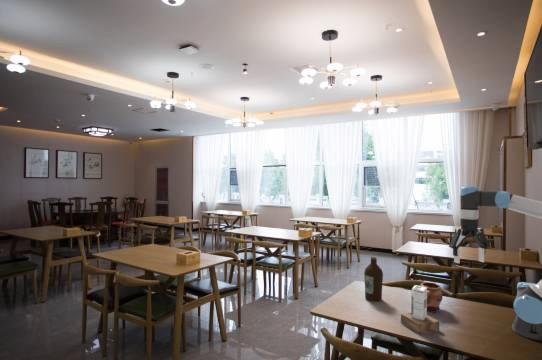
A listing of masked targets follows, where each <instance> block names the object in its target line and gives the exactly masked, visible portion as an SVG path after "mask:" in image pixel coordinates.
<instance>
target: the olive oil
mask: <svg viewBox="0 0 542 360" xmlns="http://www.w3.org/2000/svg"><path fill="white" fill-rule="evenodd" d="M377 261H378V260H377V257H376V256H371V257H370V263H369V264H368V265H367V266H366V267H365V269H364V273H363V275H364V276H363V277H364V298H366V299H365V300H366V301H369V302H372V303H373V302H376V303H378V302H381V301H382V299H383V279H384V272H383V270H382V267H380V265H378V264H377Z"/></svg>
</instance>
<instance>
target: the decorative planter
mask: <svg viewBox="0 0 542 360" xmlns="http://www.w3.org/2000/svg"><path fill="white" fill-rule="evenodd" d="M419 286H422V287H426V288H427V312H433V313H437V312H439V311H440V309H441V307H440V305H441V303H442V301H443V292H442V290H441V289H442V288H441V285H440V284H438V283H436V282H432V281H431V282H428V281H425V282H422V283H420V285H419Z"/></svg>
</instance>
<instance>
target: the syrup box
mask: <svg viewBox="0 0 542 360" xmlns="http://www.w3.org/2000/svg"><path fill="white" fill-rule="evenodd" d="M410 293H411V299H410V300H411V304H410V305H411V308H410V309H411V310H410V311H411V312H410V313H411V317H412V318H415V319H419V320H424V319H425V318H426V317H427V315H428V311H427V288H426V287H422V286H420V285H417V284H415V285H413V287H412V288H411V292H410Z"/></svg>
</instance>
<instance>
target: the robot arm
mask: <svg viewBox="0 0 542 360" xmlns="http://www.w3.org/2000/svg"><path fill="white" fill-rule="evenodd" d="M459 198H460V200H459V201H460V202H459V203H460V210H459V211H460V212H459V214H460V221H459V223H460V227H461V228H458V227H455V228H454V233H453V236H452V238H451V240H450V242H449V245H448V247H449V248H450V249H452V255H453V263H456V264H461V263H460V262H461V261H460V260H461V258H460V257H461V255H460V253H461V249H459V248H460V247H461V246H462V244H463V243H464V241H465V240H467V239H470V238H471V239H474V241H475V243H477V245H478V246H479V247H478V262H480V263H485V255H486V250H487V249H488V248H490V244H489V241H488V239H487V237H486V234H485V230H484V229H485V228H482V227H479V226H480V224H479V223H480V221H479V217H480V216H479V213H480V212H479V211H480V210H479V207H480V208H481V207H483V208H498V209H501V208H502V209H506V210H509V211H510V210H511V211H513V212H517V213H520V214H523V215H527V216H530V217H533V218H537V219H540V220H541V219H542V201H539V200H536V199H532V198H528V197H526V196H525V197H524V196H521V195H517V194H512V193H510V192H509V191H507V190H506V191H505V190H500V189H499V190H497V189H496V190H480V189H479V187H478V186H462V187H461V188H460V194H459ZM516 289H517V290H516V296H515V299H514V300H513V309H514V312H515V314H516V315H515V318H514V320H513V322H512V331H513V332H514V333H516V334H517V335H519V336H521V337H524V338H528V339H531V340H534V341H541V342H542V279H540V280H539V281H538V282H537V283H533V282H532V283H531V282H524V281H520V282H518V283H517V286H516Z"/></svg>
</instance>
